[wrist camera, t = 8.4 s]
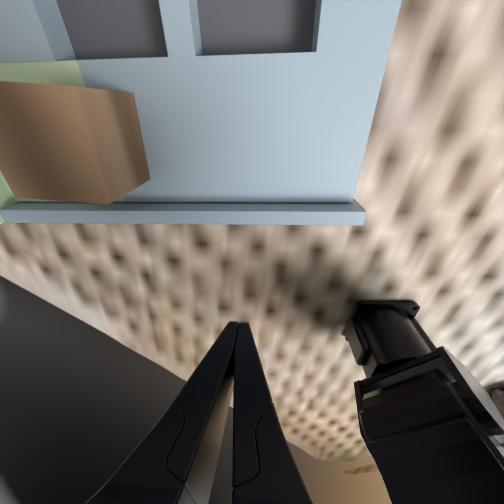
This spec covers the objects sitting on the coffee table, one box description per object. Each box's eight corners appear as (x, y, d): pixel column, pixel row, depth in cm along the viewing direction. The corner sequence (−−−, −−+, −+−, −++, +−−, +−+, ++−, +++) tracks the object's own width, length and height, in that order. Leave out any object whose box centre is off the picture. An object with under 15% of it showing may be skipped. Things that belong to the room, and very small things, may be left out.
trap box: (454, -255, 8) (584, -507, 5) (347, 206, 18) (365, 228, 15) (-198, -188, 10) (-444, -346, 6) (34, 205, 20) (-14, 225, 16)
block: (133, 93, 13) (71, 85, 9) (150, 179, 16) (108, 204, 11) (50, 87, 13) (-52, 77, 9) (81, 174, 16) (15, 197, 12)
